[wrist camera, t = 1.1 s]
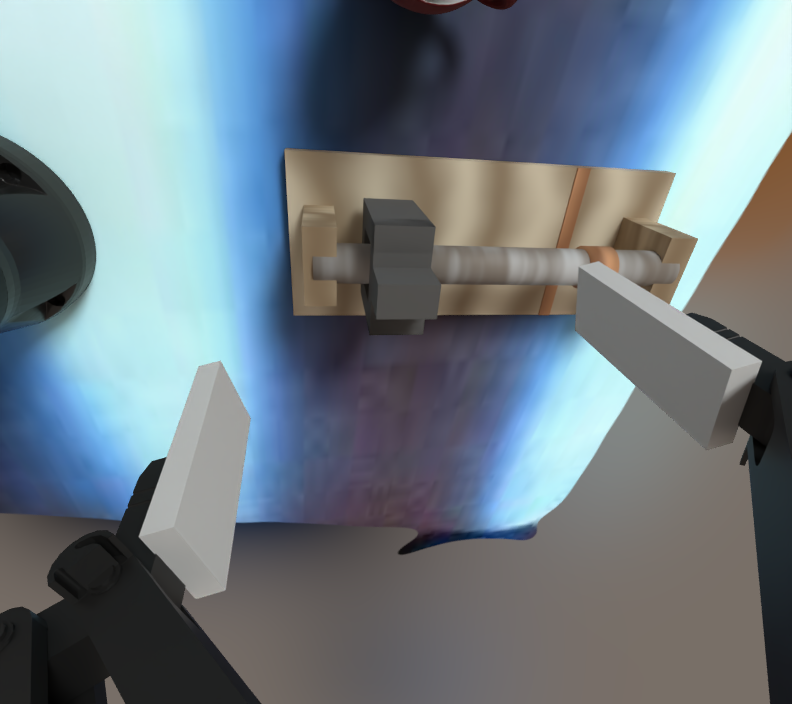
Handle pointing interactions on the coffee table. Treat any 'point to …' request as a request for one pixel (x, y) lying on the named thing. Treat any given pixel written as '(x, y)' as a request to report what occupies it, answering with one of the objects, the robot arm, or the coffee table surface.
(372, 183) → the pipe rig
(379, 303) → the collar
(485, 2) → the mug
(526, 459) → the coffee table surface
